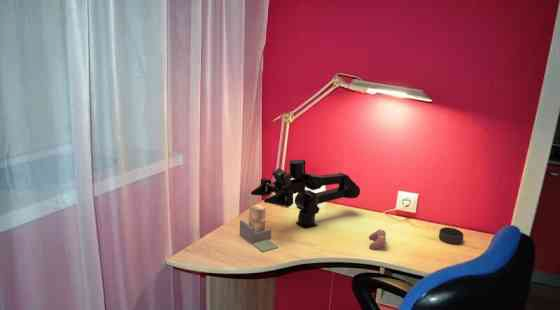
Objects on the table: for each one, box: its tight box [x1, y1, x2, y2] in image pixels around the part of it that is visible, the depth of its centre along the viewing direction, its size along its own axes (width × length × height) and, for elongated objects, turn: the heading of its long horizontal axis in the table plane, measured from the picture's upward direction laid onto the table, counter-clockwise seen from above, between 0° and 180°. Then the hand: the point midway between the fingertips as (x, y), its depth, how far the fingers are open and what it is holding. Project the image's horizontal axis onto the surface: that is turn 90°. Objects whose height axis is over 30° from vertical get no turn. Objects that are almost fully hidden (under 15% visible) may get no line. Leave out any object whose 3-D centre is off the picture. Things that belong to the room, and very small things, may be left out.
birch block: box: [248, 203, 267, 233], centre depth 152 cm, size 4×4×10 cm
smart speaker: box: [438, 226, 464, 245], centre depth 159 cm, size 9×9×4 cm
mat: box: [251, 239, 279, 253], centre depth 146 cm, size 7×7×1 cm
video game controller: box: [368, 228, 387, 250], centre depth 151 cm, size 10×5×7 cm, turn 168°
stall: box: [239, 219, 272, 245], centre depth 152 cm, size 9×9×6 cm
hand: (257, 197), depth 149 cm, fingers open, 9 cm apart
